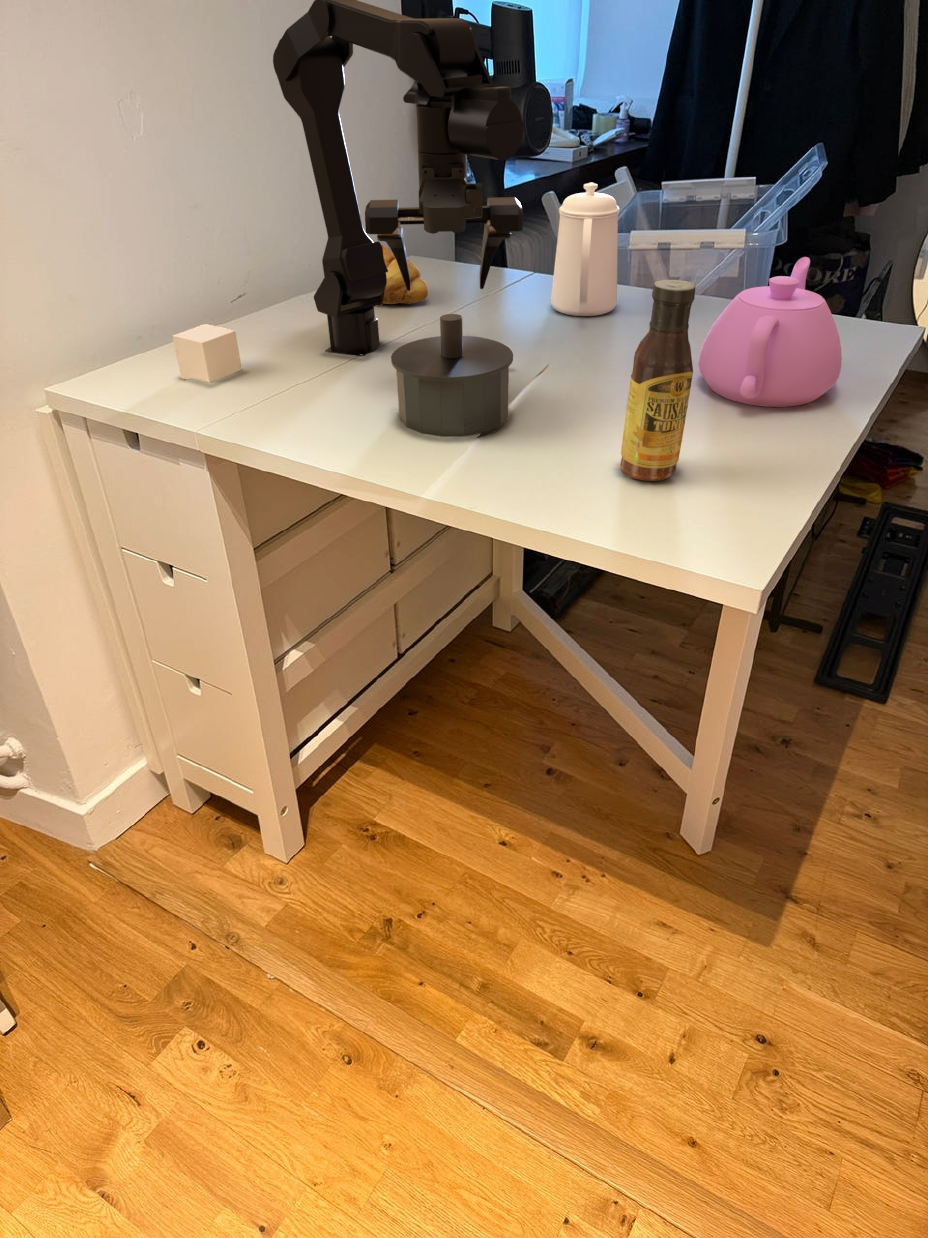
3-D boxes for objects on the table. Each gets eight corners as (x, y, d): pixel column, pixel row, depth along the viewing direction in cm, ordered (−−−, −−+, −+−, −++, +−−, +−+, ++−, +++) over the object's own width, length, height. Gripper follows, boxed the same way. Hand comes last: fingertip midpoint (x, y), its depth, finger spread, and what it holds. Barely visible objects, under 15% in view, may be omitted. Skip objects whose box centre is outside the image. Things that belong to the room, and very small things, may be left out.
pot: (381, 431, 106) (377, 371, 101) (427, 392, 116) (425, 335, 111) (484, 447, 101) (483, 385, 97) (522, 405, 111) (523, 347, 107)
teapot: (819, 429, 104) (846, 312, 96) (674, 405, 110) (688, 294, 102) (849, 362, 122) (874, 259, 114) (722, 345, 128) (738, 247, 120)
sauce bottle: (639, 489, 92) (660, 297, 81) (608, 465, 97) (624, 280, 85) (690, 476, 94) (718, 287, 83) (658, 454, 99) (680, 272, 87)
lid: (370, 377, 101) (366, 329, 98) (422, 338, 112) (420, 294, 109) (486, 393, 97) (486, 343, 93) (529, 351, 108) (530, 305, 104)
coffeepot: (616, 286, 154) (625, 169, 143) (616, 331, 134) (627, 198, 123) (554, 285, 156) (559, 169, 145) (546, 329, 136) (550, 198, 125)
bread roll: (439, 299, 150) (438, 250, 145) (403, 313, 144) (400, 263, 139) (383, 288, 156) (380, 241, 152) (346, 301, 150) (342, 252, 145)
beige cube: (210, 386, 119) (201, 342, 115) (181, 378, 122) (171, 335, 118) (242, 372, 123) (235, 330, 119) (213, 365, 126) (205, 323, 122)
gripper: (357, 163, 94) (368, 310, 103) (529, 160, 94) (525, 306, 104) (362, 147, 103) (372, 283, 112) (520, 144, 103) (516, 280, 113)
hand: (445, 288), depth 110 cm, fingers open, 9 cm apart
